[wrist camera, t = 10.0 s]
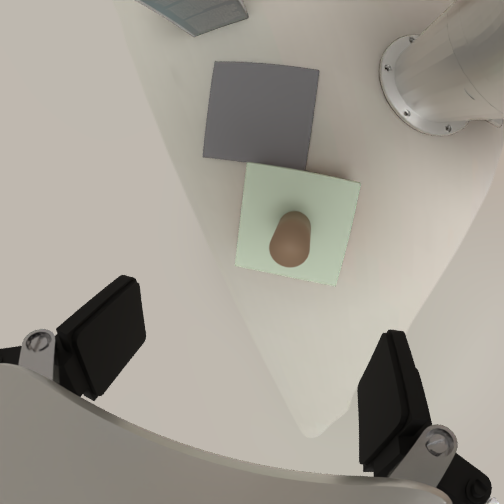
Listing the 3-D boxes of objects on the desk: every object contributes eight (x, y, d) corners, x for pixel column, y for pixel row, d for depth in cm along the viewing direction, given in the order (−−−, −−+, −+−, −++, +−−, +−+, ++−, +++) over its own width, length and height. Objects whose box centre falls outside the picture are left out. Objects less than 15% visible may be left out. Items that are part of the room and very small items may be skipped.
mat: (319, 71, 26) (319, 70, 26) (304, 171, 31) (304, 171, 30) (215, 62, 28) (214, 61, 27) (203, 156, 32) (202, 157, 32)
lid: (359, 182, 26) (373, 195, 19) (335, 282, 30) (338, 318, 24) (249, 161, 27) (228, 168, 21) (237, 262, 32) (217, 293, 25)
